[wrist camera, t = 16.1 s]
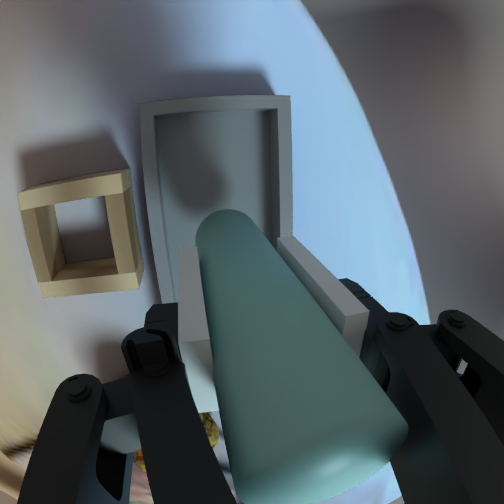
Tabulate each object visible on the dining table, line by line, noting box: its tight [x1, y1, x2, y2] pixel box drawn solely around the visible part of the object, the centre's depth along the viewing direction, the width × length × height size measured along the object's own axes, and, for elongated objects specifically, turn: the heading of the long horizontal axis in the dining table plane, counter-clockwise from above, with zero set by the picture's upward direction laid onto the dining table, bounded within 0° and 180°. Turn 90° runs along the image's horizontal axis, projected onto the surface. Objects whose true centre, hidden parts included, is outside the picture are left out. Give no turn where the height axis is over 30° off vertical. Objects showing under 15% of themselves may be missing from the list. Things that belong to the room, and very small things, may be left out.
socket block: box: [18, 168, 144, 298], centre depth 17 cm, size 7×7×3 cm
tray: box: [139, 95, 293, 304], centre depth 20 cm, size 9×17×2 cm, turn 2°
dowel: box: [195, 209, 408, 504], centre depth 11 cm, size 4×4×14 cm
